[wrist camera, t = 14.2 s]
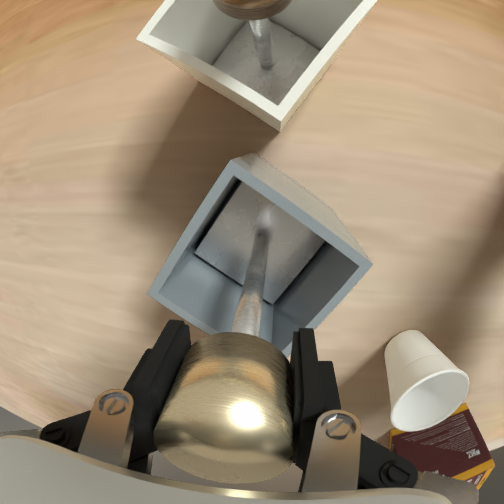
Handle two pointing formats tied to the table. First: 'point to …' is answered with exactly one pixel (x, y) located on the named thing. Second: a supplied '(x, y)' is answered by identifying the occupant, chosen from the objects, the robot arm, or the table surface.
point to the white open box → (227, 28)
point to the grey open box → (228, 290)
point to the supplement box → (447, 448)
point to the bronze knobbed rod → (264, 49)
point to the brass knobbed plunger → (239, 354)
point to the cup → (421, 382)
